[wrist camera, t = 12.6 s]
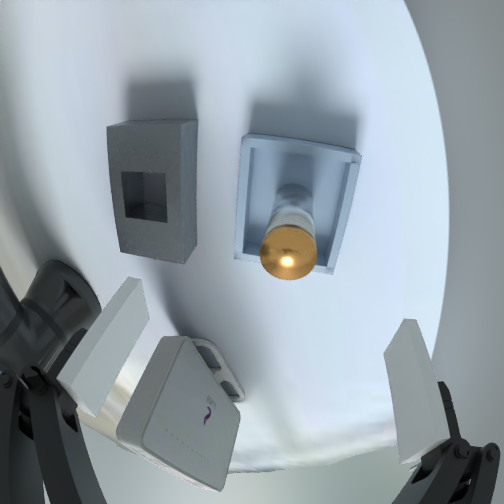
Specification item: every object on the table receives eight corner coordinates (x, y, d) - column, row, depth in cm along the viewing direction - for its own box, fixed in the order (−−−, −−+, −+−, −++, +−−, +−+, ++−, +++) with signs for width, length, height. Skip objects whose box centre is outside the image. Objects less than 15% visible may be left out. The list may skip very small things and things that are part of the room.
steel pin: (272, 215, 27) (257, 275, 19) (276, 180, 25) (262, 226, 17) (309, 221, 27) (310, 283, 19) (315, 186, 25) (322, 236, 17)
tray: (330, 258, 29) (332, 274, 27) (240, 244, 30) (233, 258, 28) (355, 149, 23) (361, 155, 20) (248, 133, 24) (241, 137, 22)
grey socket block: (196, 245, 31) (184, 264, 28) (137, 235, 32) (120, 252, 29) (197, 119, 24) (181, 124, 21) (128, 121, 25) (106, 126, 21)
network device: (253, 407, 50) (234, 495, 33) (214, 405, 52) (190, 486, 35) (203, 321, 38) (151, 449, 21) (155, 323, 41) (97, 431, 24)
